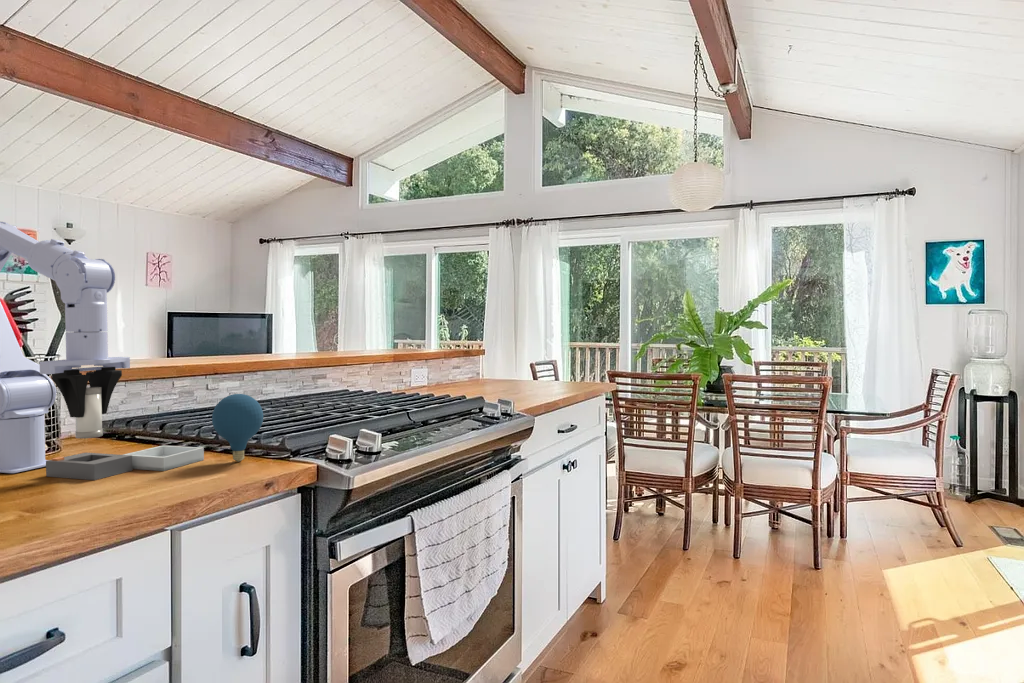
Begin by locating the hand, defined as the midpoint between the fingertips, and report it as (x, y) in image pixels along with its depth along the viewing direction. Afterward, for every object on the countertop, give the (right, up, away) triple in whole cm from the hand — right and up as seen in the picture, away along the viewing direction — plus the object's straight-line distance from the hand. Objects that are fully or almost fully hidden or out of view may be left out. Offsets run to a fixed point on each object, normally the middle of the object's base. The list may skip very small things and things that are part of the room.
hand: (88, 415), depth 105 cm
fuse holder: (0, -10, 0) cm, 10 cm away
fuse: (0, -4, 0) cm, 3 cm away
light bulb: (+21, -9, +9) cm, 24 cm away
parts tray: (+8, -9, +7) cm, 14 cm away
